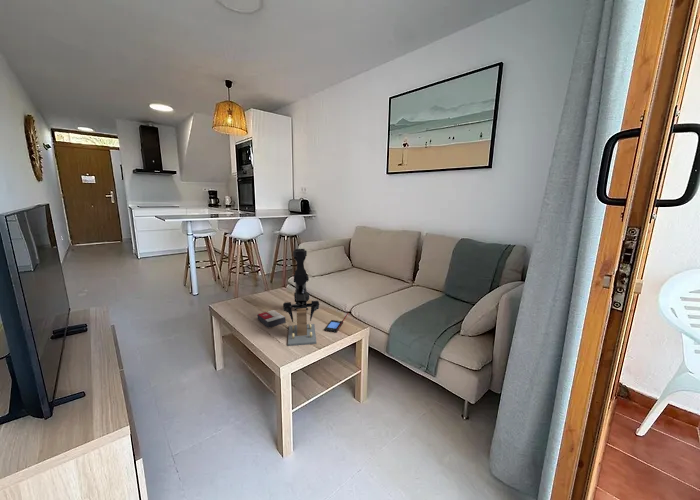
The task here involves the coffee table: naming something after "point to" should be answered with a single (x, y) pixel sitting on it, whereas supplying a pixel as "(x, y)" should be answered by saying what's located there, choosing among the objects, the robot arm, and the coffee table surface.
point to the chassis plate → (301, 340)
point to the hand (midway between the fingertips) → (301, 321)
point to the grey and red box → (271, 318)
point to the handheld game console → (334, 325)
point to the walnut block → (301, 322)
